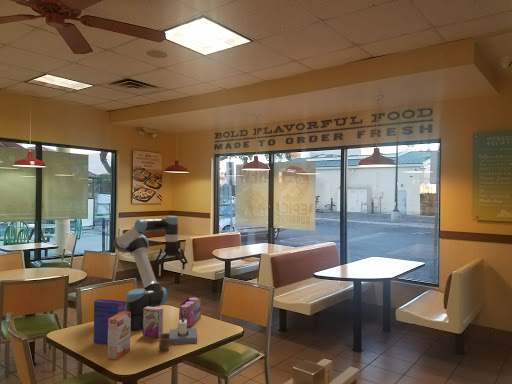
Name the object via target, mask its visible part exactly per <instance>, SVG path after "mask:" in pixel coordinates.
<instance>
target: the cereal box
mask: <svg viewBox="0 0 512 384" xmlns="http://www.w3.org/2000/svg"><path fill="white" fill-rule="evenodd" d="M122 311H124V312H126V300H114V299H101V298H98V299H95V300H94V301H93V344H97V345H99V344H100V345H104V346H105V345H107V346H108V319H109V318H111V317H113V316H114V315H116V314H118V313H120V312H122Z"/></svg>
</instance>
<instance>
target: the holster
mask: <svg viewBox="0 0 512 384" xmlns="http://www.w3.org/2000/svg"><path fill="white" fill-rule="evenodd" d="M169 339H170V333H169V332H166V333H165V332H163V333H161V334H160V337H159V341H158V343H159V344H158V345H159V346H158V348H159V349H158V351H159V352H169V350H170V344H169Z"/></svg>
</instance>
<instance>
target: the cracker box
mask: <svg viewBox="0 0 512 384" xmlns="http://www.w3.org/2000/svg"><path fill="white" fill-rule="evenodd" d="M130 329H131V312H124V311H122V312H120V313H118V314H116V315H114V316H113V317H111V318H109V319H108V345H107V350H106V353H107V360H115V361H117V360H119V359H120V358H121V357H123V355H125V354H126V353H128V352H129V351H130V350H131V331H130Z"/></svg>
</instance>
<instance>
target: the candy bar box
mask: <svg viewBox="0 0 512 384" xmlns="http://www.w3.org/2000/svg"><path fill="white" fill-rule="evenodd" d="M163 318H164V308H162V307H158V306H157V307H149V306H147V307H145V308H143V330H142V335H143V336H146V337H153V338H160V334H161V333H164V332H163V331H164V330H163V329H164V328H163V326H164V325H163V324H164V322H163V321H164V319H163Z"/></svg>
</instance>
